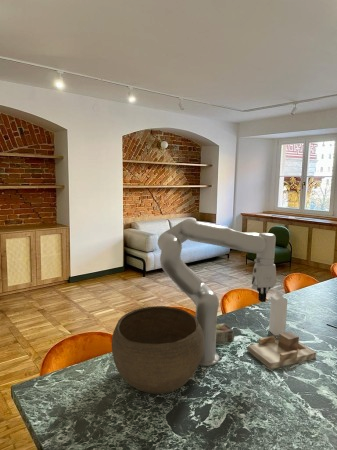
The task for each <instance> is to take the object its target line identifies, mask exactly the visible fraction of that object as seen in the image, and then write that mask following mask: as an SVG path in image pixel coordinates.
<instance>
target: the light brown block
mask: <svg viewBox="0 0 337 450" xmlns="http://www.w3.org/2000/svg"><path fill="white" fill-rule="evenodd" d="M299 338H300V336H299V335H296V334H294V333H293V332H291V331H285V332H284V333H280V334H279V335H278V339H279V342H278V346H279V347H281V348H282V349H284V350H285V351H287V352H289V351H293V350H297V349H298V342H300V341H299V340H300V339H299ZM298 350H299V349H298Z"/></svg>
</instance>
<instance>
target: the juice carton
mask: <svg viewBox="0 0 337 450" xmlns="http://www.w3.org/2000/svg"><path fill="white" fill-rule="evenodd" d="M234 339H235V334H234V330H233V328H231V326H229V325H228V324H226V323H216V344H219V343H226V342H227V343H228V342H233V341H234Z"/></svg>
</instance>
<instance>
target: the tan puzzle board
mask: <svg viewBox="0 0 337 450" xmlns="http://www.w3.org/2000/svg"><path fill="white" fill-rule="evenodd" d="M278 342H279V338H278V339H276V336H274V335H270V336H264V337H260V338H258V343H254V344H249V345H247V351H248V353H250V354H251V356H252V355H253V357H255V358H256V359H257V360H258V361H260V362H261V363H262V364H264V365H265V366H266V367H267V368H268V369H269V370H273V369H277V368H280V367H284V366H288V365H292V364H297V363H301V362H305V361H309V360H312V359H317V351H315V350H313V349H311V348H310V347H309V346H307V345H305V344H303V343H302V342H300V341H299V342H298V349H297V350H293V351H289V352H287V351H285V350H284V349H282V348H281V347H279V346H278Z"/></svg>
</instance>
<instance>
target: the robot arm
mask: <svg viewBox="0 0 337 450" xmlns="http://www.w3.org/2000/svg"><path fill="white" fill-rule="evenodd" d="M276 238H277V237H276V235H275V234H274V233H270V232H261V233H258V232H250V231H246V232H241V231H238V230H234V229H233V228H230V227H227V226H223V225H220V224H213V223H208V222H203V221H199V220H195V219H193V218H187V219H184V220H181V221H180V222H179V223H177V224H175V225H174V226H172V227H170V228H169V229H167V230H166V231H164V232H163V233H161V234H160V235H159V236H158V239H157V246H158V249H159V250H161V251H160V256H159V257H160V258H159V262H160V267H161V268H162V270H163V271H164V273H165V274H166V275H167V277H169V278H170V280H171V281H172V282H173V283H174V284H175V285H176V286H177V287H178V289H179V290H180V291H181V292H183V294H185V295H186V296H187V297H189V299H190V300H191V301H192V302H193V303H194V305H195V314H194V316H195V317H196V318H197V320H198V323H199V324H200V326H201V328H202V331H203V337H204V346H203V355H202V358H201V360H200V363H199V365H198V366H201V367H211V366H215V365H216V364H217V363H219V361H220V355H218V353H217V352H216V350H217V349H216V347H217V343H216V324H218V323H217V322H218V321H217V319H218V312H219V305H220V301H219V298H218V295H217V294H216V293H215V292H214V291H213V290H212V289H211V288H210V287H209V286H208V285H207V284H206V283H205V282H204V281H203V280H202V279H201V278H200V277H199V276H198V275H197V273H196V272H194V270H193V269H191V268H189V266H188V265H187V264H186V263H185V262H184V261H183V260H182V259H181V257H182V256H181V253H182V249H183V243H185V242H186V241H188V240H189V241H191V242H195V243H201V244H208V245H212V246H218V247H221V248H226V249H232V250H236V251H241V252H246V253H250V254H251V253H252V254H256V258H255V259H254V260H253V261H254V266H253V271H252V273H251V274H252V277H251V284H252V286H251V289H253V290H255V291H256V292H258V295H257V296H258V298H257V299H258V301H260V302H261V303H266V301H267V294H268V293H269V291H270V290H271V289H273V288H274V287H275V286H276V285H277V267H276V264H275V255H276V254H275V253H276V252H275V251H276V241H277V239H276Z"/></svg>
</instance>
